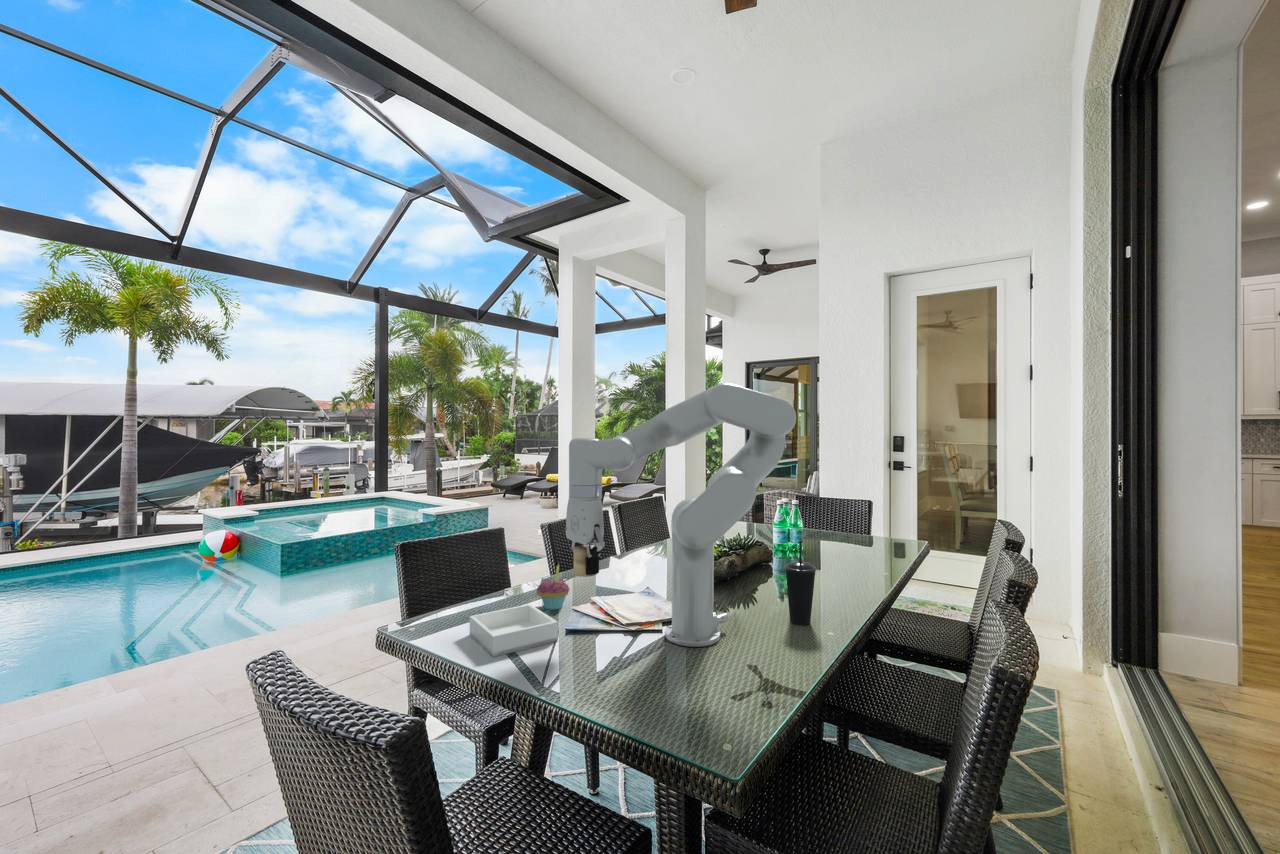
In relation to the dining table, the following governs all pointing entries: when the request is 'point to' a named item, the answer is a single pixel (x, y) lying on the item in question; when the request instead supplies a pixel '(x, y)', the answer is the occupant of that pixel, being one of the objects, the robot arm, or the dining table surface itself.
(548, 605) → the cupcake
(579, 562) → the beige cylinder
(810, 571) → the drinking cup
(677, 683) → the dining table surface
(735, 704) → the dining table surface
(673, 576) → the robot arm
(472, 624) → the serving dish
